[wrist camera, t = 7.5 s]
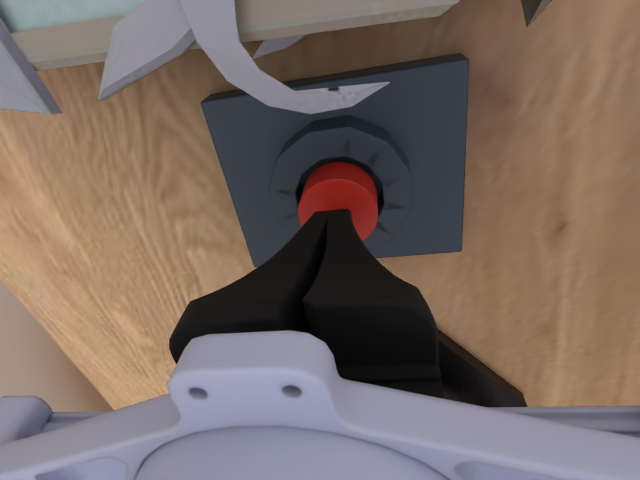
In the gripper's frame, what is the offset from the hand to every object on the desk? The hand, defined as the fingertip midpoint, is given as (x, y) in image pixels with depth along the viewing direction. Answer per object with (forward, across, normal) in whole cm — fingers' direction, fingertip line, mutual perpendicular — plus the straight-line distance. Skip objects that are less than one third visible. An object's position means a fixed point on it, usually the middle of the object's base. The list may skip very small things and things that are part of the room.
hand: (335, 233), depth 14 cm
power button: (+3, 0, 0) cm, 3 cm away
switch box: (+6, 0, 0) cm, 6 cm away
